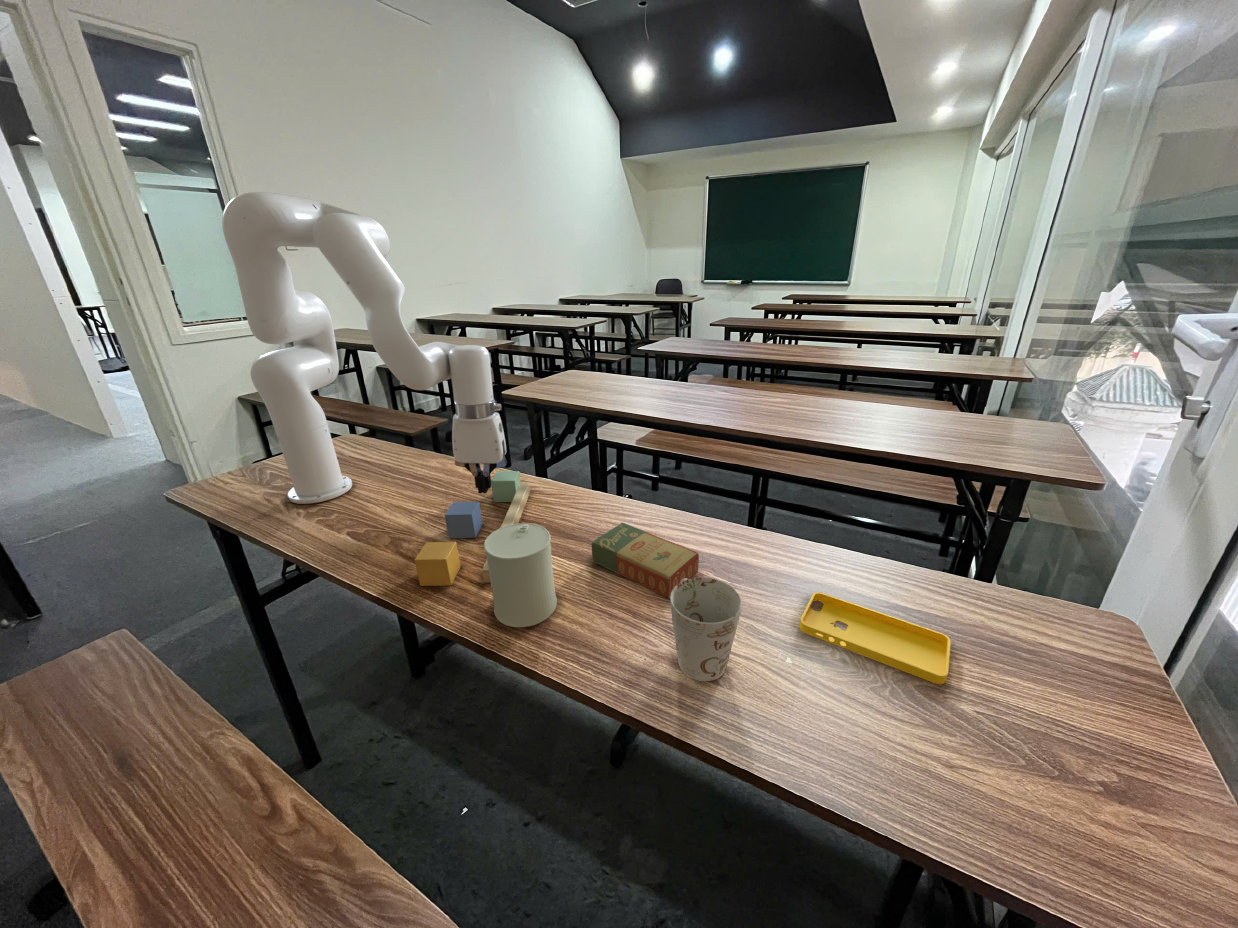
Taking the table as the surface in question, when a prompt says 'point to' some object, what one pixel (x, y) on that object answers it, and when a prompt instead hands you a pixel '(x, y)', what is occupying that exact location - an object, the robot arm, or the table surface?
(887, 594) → the table surface
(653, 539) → the carton
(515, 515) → the wooden bar
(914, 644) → the phone case
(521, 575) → the can
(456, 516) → the block mid
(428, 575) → the block near
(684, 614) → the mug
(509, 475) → the block far
